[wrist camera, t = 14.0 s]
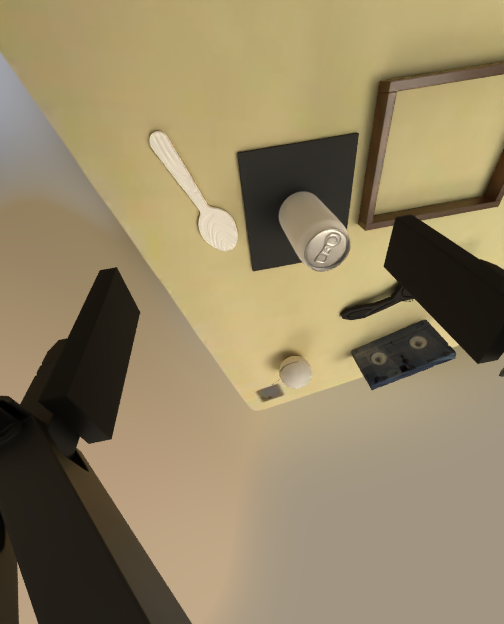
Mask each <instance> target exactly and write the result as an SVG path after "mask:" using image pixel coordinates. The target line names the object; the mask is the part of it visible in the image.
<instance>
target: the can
mask: <svg viewBox="0 0 504 624" xmlns="http://www.w3.org/2000/svg"><path fill="white" fill-rule="evenodd" d="M279 222H280V225H281V227H282V229H283V230H284V232H285V234H286V236H287V238H288V239H289V241H290V243H291V245H292V247H293V248H294V250H295V252H296V254H297V255H298V257H299V259H300V260H301V261H302V262H303V263H304V264H305V265H307V266H308V267H309V268H311V269H312V270H315V271H328V270H331V269H333V268H335V267H337V266H338V265H340V264H341V263H342V262H343V261H344V260H345V258H346V257H347V255H348V253H349V250H350V239H349V237H348V232H347V230H346V228H345V226H344V225H343V224H342V223H341V222H340V221H339V220H338V219H337V217H336V216H335V215H334V214H333V213H332V212H331V211H330V210H329V209H328V208H327V207H326V206H325V205H324V204H323V203H322V202H321V201H320V200H319V199H318V198H317V197H316V196H315V195H314V194H312V193H310V192H304V191H302V192H296V193H294V194H292V195H290V196H289V197H288V198H287V199H286V200H285V201H284V202H283V204H282V205H281V208H280V211H279Z"/></svg>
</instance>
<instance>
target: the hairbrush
mask: <svg viewBox="0 0 504 624" xmlns="http://www.w3.org/2000/svg"><path fill="white" fill-rule="evenodd" d="M410 299H415V298H414V297H413V296H412V295H411V294H410V293H409V292H408V291H407V290H406V289H405V288H404V287H403V286H402V285H401V284H399V286H398V287H397V288H396V290H395V291H394V293H393V294H392V295H391V297H388V298H385V299H383V300H380V301H377V302H375V303H369V304H363V305H358V306H354V307H351V308H348V309H345V310H344V311H343V312H342V313H340V314H341V316H342V318H343V319H347V320H355V319H361V318H365V317H367V316H370V315H372V314H375V313H377V312H379V311H381V310H384V309H386V308H388V307H390V306H393V305H395V304H397V303H399V302H401V301H405V300H408V301H409V302H411V301H410ZM412 301H413V300H412ZM405 302H407V301H405Z"/></svg>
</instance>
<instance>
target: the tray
mask: <svg viewBox="0 0 504 624" xmlns="http://www.w3.org/2000/svg"><path fill="white" fill-rule="evenodd" d="M502 74H504V61H502V62H496V63H489V64H483V65H477V66H470V67H464V68H458V69H451V70H445V71H439V72H432V73H426V74H420V75H414V76H407V77H401V78H395V79H388V80H382V81H380V82H379V89H378V91H379V92H378V96H377V103H376V109H375V116H374V123H373V129H372V136H371V142H370V149H369V156H368V162H367V169H366V175H365V182H364V189H363V195H362V202H361V209H360V215H359V221H358V224H359V225H360V226H361V227H362V228H363V229H364V230H365V231H366V230H371V229H377V228H382V227H388V226H393V225H394V222H395V218H396V217H399V216H404V215H410V214H412V215H413V216H415V217H416V218H418V219H419V220H426V219H432V218H438V217H443V216H449V215H454V214H460V213H465V212H471V211H476V210H482V209H487V208H493V207H498V206H499V204H500V202H501V200H502V198H503V196H504V150H503V152H502V154H501V157H500V159H499V161H498V164H497V166H496V168H495V170H494V173H493V175H492V177H491V180H490V182H489V184H488V186H487V189H486V191H485V193H484V196H481V197H475V198H470V199H464V200H459V201H453V202H447V203H442V204H436V205H431V206H425V207H419V208H414V209H408V210H403V211H397V212H392V213H386V214H380V215H375V216H374V210H375V205H376V200H377V194H378V189H379V184H380V178H381V173H382V167H383V162H384V157H385V151H386V146H387V141H388V135H389V130H390V125H391V119H392V114H393V108H394V103H395V98H396V91H402V90H408V89H414V88H421V87H427V86H433V85H439V84H445V83H452V82H458V81H464V80H470V79H477V78H483V77H489V76H495V75H502Z"/></svg>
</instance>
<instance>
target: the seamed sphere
mask: <svg viewBox="0 0 504 624" xmlns="http://www.w3.org/2000/svg"><path fill="white" fill-rule="evenodd" d="M279 374H280V378H281V380H282V382H283V383H284V384H285V385H287V386H288V387H290V388H293V389H299V388H302V387H304V386H306V385H307V384H308V382H309V381H310V380H311V375H312V370H311V366H310V364H309V363H308V362H307V361H306V360H305V359H304V358H302V357H300V356H290V357H288V358H286V359H285V360H284V361H283V362H282V364H281V366H280V370H279ZM279 380H280V379H279ZM276 382H277V381H276ZM276 382H275V383H276ZM273 384H274V383H273ZM273 384H272V385H273Z"/></svg>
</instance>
